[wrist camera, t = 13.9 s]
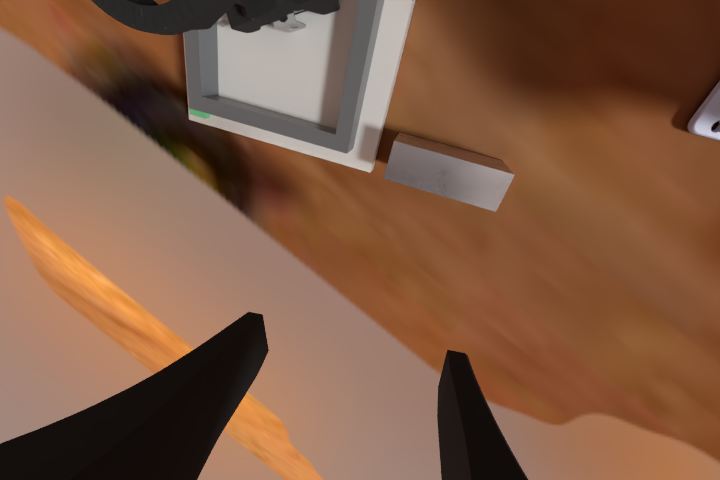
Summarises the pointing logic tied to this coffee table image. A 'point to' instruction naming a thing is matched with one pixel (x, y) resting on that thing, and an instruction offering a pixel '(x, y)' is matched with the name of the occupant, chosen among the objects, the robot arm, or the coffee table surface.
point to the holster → (448, 171)
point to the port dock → (303, 79)
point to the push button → (212, 14)
